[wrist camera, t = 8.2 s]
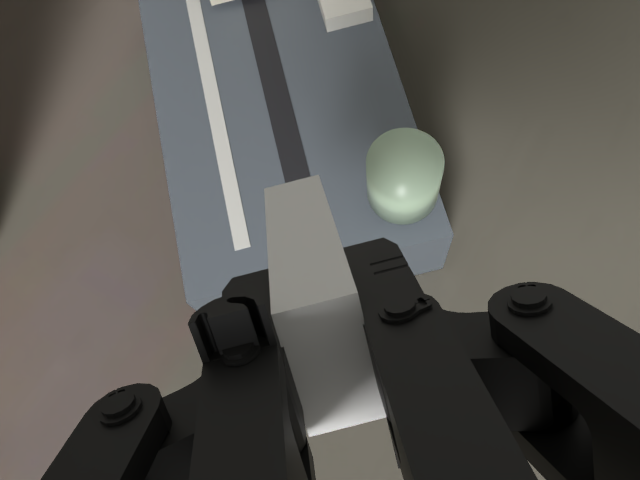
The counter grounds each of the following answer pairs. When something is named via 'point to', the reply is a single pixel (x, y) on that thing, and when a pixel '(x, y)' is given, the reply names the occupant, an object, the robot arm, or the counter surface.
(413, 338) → the robot arm
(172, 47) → the switch console
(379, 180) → the push button
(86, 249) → the counter surface
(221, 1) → the cream rectangular block
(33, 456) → the counter surface
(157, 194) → the counter surface
